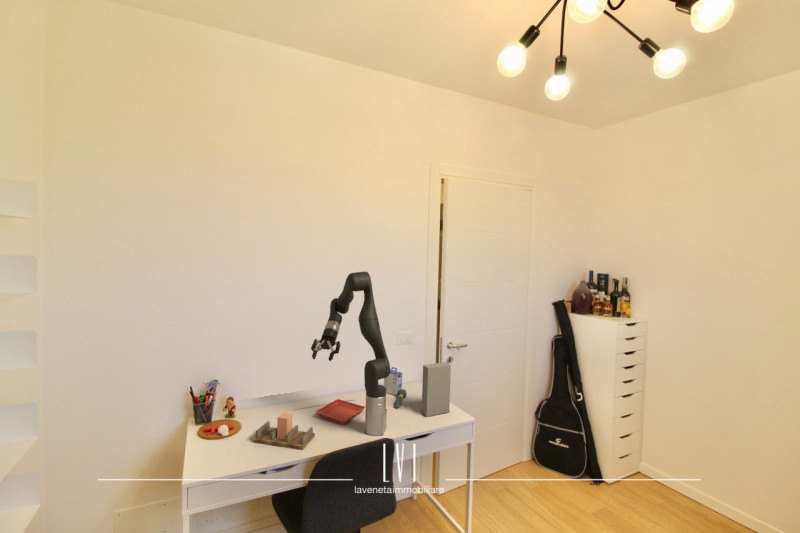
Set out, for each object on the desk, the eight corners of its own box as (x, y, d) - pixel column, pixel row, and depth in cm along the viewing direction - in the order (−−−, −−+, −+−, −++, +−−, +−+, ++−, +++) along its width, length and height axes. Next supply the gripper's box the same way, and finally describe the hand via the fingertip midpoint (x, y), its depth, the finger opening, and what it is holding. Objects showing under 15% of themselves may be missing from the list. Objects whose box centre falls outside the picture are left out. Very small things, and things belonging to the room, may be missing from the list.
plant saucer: (365, 412, 181) (365, 406, 180) (344, 427, 165) (344, 420, 164) (337, 404, 189) (337, 398, 189) (314, 418, 173) (314, 411, 173)
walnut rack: (314, 436, 155) (314, 426, 155) (303, 450, 145) (303, 439, 144) (267, 429, 160) (268, 420, 160) (253, 442, 149) (253, 432, 149)
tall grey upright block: (443, 407, 188) (444, 361, 187) (449, 412, 182) (451, 365, 181) (420, 412, 182) (422, 364, 181) (426, 417, 176) (427, 368, 175)
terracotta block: (292, 434, 154) (292, 414, 154) (286, 439, 150) (286, 418, 149) (282, 432, 155) (282, 412, 155) (277, 438, 151) (277, 417, 150)
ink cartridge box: (402, 393, 206) (402, 368, 205) (397, 396, 201) (398, 371, 201) (388, 389, 211) (388, 365, 210) (383, 392, 206) (383, 368, 206)
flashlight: (403, 410, 184) (403, 400, 184) (394, 409, 184) (394, 400, 184) (407, 395, 203) (407, 386, 203) (398, 394, 204) (398, 386, 204)
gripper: (316, 326, 183) (305, 354, 172) (342, 328, 180) (333, 357, 169) (320, 334, 188) (310, 361, 177) (345, 336, 185) (337, 364, 174)
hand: (321, 359), depth 173 cm, fingers open, 8 cm apart
